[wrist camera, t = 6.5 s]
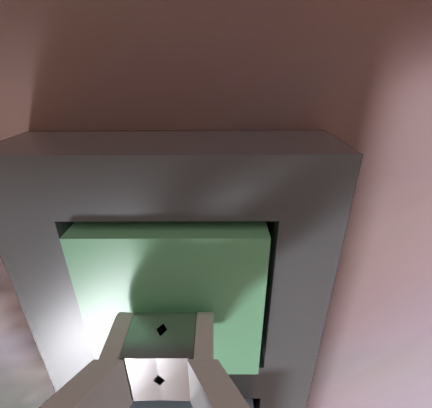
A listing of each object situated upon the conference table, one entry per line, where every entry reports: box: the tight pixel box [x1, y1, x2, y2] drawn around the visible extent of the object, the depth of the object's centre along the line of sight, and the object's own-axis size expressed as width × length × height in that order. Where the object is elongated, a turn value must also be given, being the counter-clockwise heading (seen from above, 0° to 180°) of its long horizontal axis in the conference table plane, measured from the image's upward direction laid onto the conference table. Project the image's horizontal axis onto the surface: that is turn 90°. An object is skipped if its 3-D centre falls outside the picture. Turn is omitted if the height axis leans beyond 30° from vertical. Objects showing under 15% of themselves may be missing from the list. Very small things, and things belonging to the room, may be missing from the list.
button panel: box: [0, 130, 363, 408], centre depth 15 cm, size 28×11×3 cm, turn 0°
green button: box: [60, 221, 271, 374], centre depth 11 cm, size 6×6×3 cm
